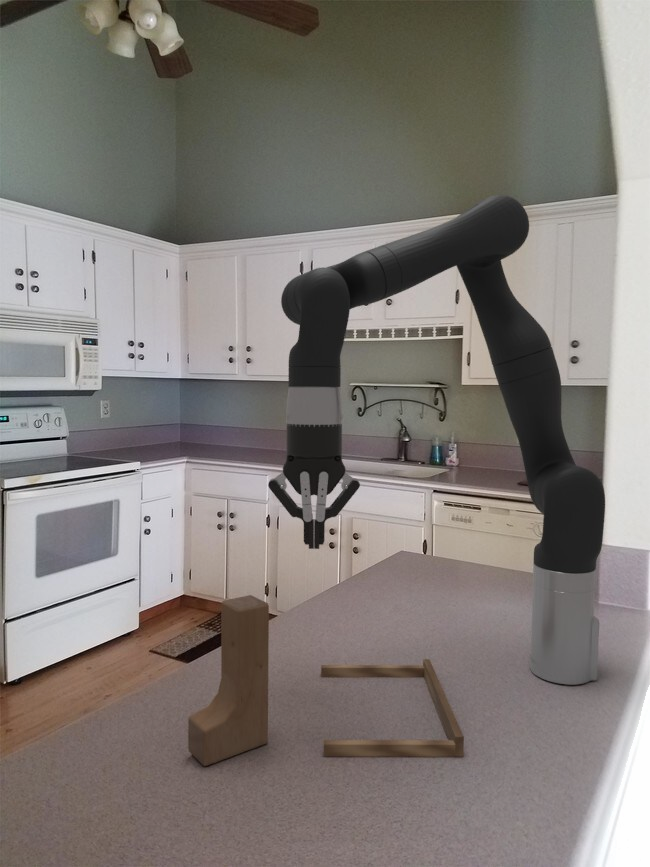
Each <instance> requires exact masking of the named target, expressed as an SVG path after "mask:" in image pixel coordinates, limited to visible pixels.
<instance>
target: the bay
mask: <svg viewBox="0 0 650 867" xmlns="http://www.w3.org/2000/svg"><path fill="white" fill-rule="evenodd" d="M320 669H321V670H320V677H321V678H424V681H425V684H426V687H427V688H428V691H429V694H430V696H431V699H432V702H433V704H434V707H435V710H436V712H437V714H438V717H439V719H440V723H441V725H442V727H443V729H444V730H443V731H444V732H445V734H446V737H447V739H444V740H443V739H437V740H435V739H431V740H430V739H425V740H424V739H423V740H421V739H416V740H415V739H412V740H411V739H405V740H404V739H396V740H395V739H387V740H386V739H323V757H361V758H362V757H370V758H371V757H373V758H374V757H376V758H377V757H385V758H386V757H397V758H398V757H399V758H400V757H403V758H404V757H406V758H407V757H410V758H411V757H412V758H414V757H420V758H421V757H423V758H424V757H426V758H427V757H428V758H429V757H435V758H436V757H438V758H439V757H443V758H444V757H446V758H447V757H449V758H450V757H452V758H454V757H455V758H456V757H457V758H459V757H461V758H462V757H464V745H465V744H464V743H465V742H464V741H465V736H464V734H463V732H462V729H461V726H460V725H459V723H458V720H457V718H456V716H455V713H454V712H453V708H452V707H451V705H450V702H449V700H448V697H447V696H446V693H445V691H444V688H443V687H442V685H441V682H440V680H439V677H438V675H437V673H436V671H435V669H434V666H433V663H432V661H431V660H430V658H422V665H420V664H419V665H417V664H413V665H412V664H410V665H405V664H402V665H401V664H400V665H399V664H395V665H392V664H387V665H386V664H380V665H379V664H377V665H375V664H321V665H320Z"/></svg>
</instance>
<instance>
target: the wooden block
mask: <svg viewBox="0 0 650 867" xmlns="http://www.w3.org/2000/svg"><path fill="white" fill-rule="evenodd" d="M269 609H270V605H269V603H267V602H266V601H264V600H261V599H260V598H258V597H256V596H253V595H251V594H248V595H243V596H240V597H235V598H230V599H225V600H222V601H221V613H220V614H221V617H220V618H221V620H220V621H221V625H220V626H221V628H220V629H221V632H220V633H221V636H220V637H221V640H220V641H221V643H220V646H221V647H220V648H221V651H220V652H221V654H220V655H221V657H220V658H221V661H220V662H221V664H220V665H221V668H220V669H221V670H220V672H221V673H220V675H221V678H220V682H219V685H218V691H217V694H215V696H214V697H213V699H212V701H211V702H210V703H209V704H208V705H207V706H206V707H204V708H202V709H201V710H198V711H197V712H195V713H192V714H191V715H189V716H188V719H187V720H188V721H187V724H188V725H187V726H188V727H187V730H188V736H187V738H188V740H187V741H188V742H187V743H188V746H187V747H188V748H187V749H188V751H189V753H190V754H191V756H194V758H195V759H196V760H197V761H199V763H200V764H201V765H202V766H204V767H207V766H209V765H213V764H215V763H218V762H221V761H223V760H226V759H229V758H232V757H234V756H236V755H237V756H238V755H239V754H240V755H241V754H242V753H246V751H247V752H248V751H250V750H253V749H255V748H258V747H261V746H264V745H266V744H267V743H268V741H269V640H270V639H269V638H270V637H269V636H270V635H269V634H270V633H269V629H270V628H269V627H270V626H269V623H270V622H269V621H270V620H269V619H270V617H269V616H270V615H269V614H270V610H269Z"/></svg>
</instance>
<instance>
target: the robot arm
mask: <svg viewBox="0 0 650 867" xmlns="http://www.w3.org/2000/svg"><path fill="white" fill-rule="evenodd" d="M529 232H530V220H529V216H528V213H527V211H526V209H525V208H524V206H523V204H522V203H521V202H519V201H518V200H517V199H515V198H514V197H513V196H509V195H506V194H493V195H491V196H488V197H485V198H483V199H481V200H479V201H478V202H476V203H475V204H473V205H472V206H470V207H469V208H468V209H466V210H464V211H463V212H462V213H461V214H459V215H457V216H456V217H454V218H452V219H450V220H448V221H445V222H443V223H440V224H438V225H436V226H434V227H432V228H428V229H426V230H423V231H420V232H417V233H415V234H411V235H409V236H405V237H402V238H400V239H399V238H398V239H397V240H393V241H391V242H390V241H389V242H388V243H387V242H386V243H385V244H382V245H379V246H376V247H374V248H370V249H368V250H365V251H362V252H360V253H357V254H355V255H354V256H351V257H349V258H348V259H346V260H343V261H341V262H339V263H337V264H332V265H330V266H326V267H317V268H314V269H312V270H311V269H310V270H309V271H307V272H304V273H301V274H299V275H297V276H295V277H293V278H292V279H291V280H290V281H288V283H287V284H286V285H285V286H284V289H283V291H282V293H281V298H280V299H281V301H280V303H281V308H282V311H283V313H284V315H285V317H286V318H287V319H288V320H290V322H292V323H294V324H296V325H299V329H298V337H297V341H296V343H295V344H294V345H293V346H292V347H291V349H290V350H289V354H288V388H287V389H288V390H287V392H288V393H287V398H286V413H285V420H286V453H285V454H286V456H285V457H286V459H285V462H284V464H283V466H282V472H281V473H279V474H278V475H277V476H276V477H273V478H271V479H270V480H268V483H267V485H268V486H267V487H268V489H269V490H270V491H271V492H272V493H273V495H274V496H275V497H276V499H277V500H278V501H279V503H281V505H282V506H283V508H284V509H285V510H286V511H287V512H288V514H289V515H290V516H291V517H292V518H298V519H300V520H301V521H302V523H303V542H304V545H305V546H307V545H308V549H309V550H319V549H320V546H321V545H324V543H325V523H326V521H327V520H328V519H331V518H336V517H337V516H338V515H339V514H340V512H341V511H342V510H343V509H344V507H345V506H346V505H347V504H348V502H350V500H351V499H352V497H353V496H354V495H355V494H356V492H357V491H358V490H359V488H360V486H361V483H360V481H359V480H358V479H357V478H354V477H353V476H352V475H350V474H349V473H348V472H346V466H345V464H344V462H343V418H344V417H343V416H344V414H343V401H342V399H343V398H342V393H341V378H342V376H341V375H342V373H341V370H342V368H341V367H342V365H341V354H342V350H343V348H344V347H343V346H344V342H345V338H346V334H347V329H348V328H347V327H348V323H349V317H350V311H351V309H354V308H357V307H362V306H366V305H371V304H373V303H374V304H375V303H377V302H380V301H383V300H385V299H387V298H390V297H392V296H395V295H397V294H400V293H402V292H404V291H407V290H409V289H411V288H413V287H415V286H417V285H420V284H421V283H424V282H425V281H428V280H429V279H432V278H433V277H435V276H437V275H440V274H441V273H443V272H445V271H447V270H449V269H452V268H454V267H456V268H457V270H458V273H459V274H460V277H461V279H462V280H461V281H462V282H463V284H464V286H465V289H466V291H467V293H468V296H469V298H470V300H471V303H472V305H473V308H474V311H475V315H476V317H477V321H478V323H479V326H480V329H481V333H482V335H483V337H484V341H485V344H486V346H487V347H486V348H487V349H488V354H489V357H490V361H491V365H492V368H493V372H494V374H495V378H496V382H497V384H498V386H499V390H500V393H501V395H502V398H503V401H504V405H505V407H506V411H507V414H508V416H509V419H510V422H511V425H512V427H513V430H514V431H515V435H516V437H517V440H518V444H519V448H520V451H521V457H522V462H523V466H524V471H525V478H526V482H527V486H528V487H527V488H528V493H529V496H530V499H531V502H532V503H533V505H534V507H535V508H536V510H538V511H539V512H540V513H541V514H542V515H543V520H542V521H543V522H542V534H541V535H542V536H541V539H540V542H539V543H537V544H536V545H535V546H534V548H533V549H534V550H533V568H532V594H531V596H532V598H531V623H530V624H531V626H530V628H531V629H530V632H531V633H530V654H529V660H530V664H529V669H530V671H531V672H532V673H533V675H535V676H536V677H538V678H540V679H543V680H545V681H547V682H551V683H555V684H561V685H562V684H563V685H569V686H570V685H575V686H576V685H582V684H587V683H589V682H590V681H598V665H599V645H600V644H599V643H600V642H599V640H600V638H599V637H600V620H599V619H598V617H596V616H595V602H596V601H595V599H596V596H595V595H596V573H597V560H598V557H599V555H600V553H601V551H602V547H603V538H604V525H605V514H606V495H605V488H604V486H603V482H602V481H601V479H600V478H599V476H598V475H597V474H596V473H594V472H593V471H591V470H590V469H588V468H585V467H583V466H579V465H577V464H576V461H575V460H574V458H573V455H572V453H571V451H570V447H569V445H568V442H567V439H566V435H565V432H564V429H563V424H562V422H563V421H562V380H561V373H560V369H559V366H558V362H557V360H556V359H557V358H556V356H555V352H554V350H553V347H552V343H551V341H550V338H549V336H548V334H547V332H546V330H545V329H544V328H543V327H542V325H541V324H540V323H539V322H538V321H537V320H536V318H534V317H533V315H532V314H531V313H529V311H528V310H527V309H526V308H525V307H524V306H523V305H522V304H521V303H520V302H519V300H517V298H516V296H515V294H513V291H512V290H511V287H510V286H509V283H508V280H507V278H506V275H505V272H504V268H503V265H502V260H504V259H506V258H507V257H510V256H511V255H513V254H514V253H515V252H517V251H518V250H519V249H521V247H522V246H523V245H524V243H525V242H526V240H527V238H528V235H529ZM286 480H287V481H288V482H289V484H290V485H291V487H292V488H293V489H294V491H295V492H296V493H297V494H299V495H300V496H301V505H302V507H301V506H299V505H298V504H297V503H296V502H295V501H294V499H293V498H292V497H291V496H290V494H289V493H288V492H287V490H286V489H287V487H288V484H287V482H286ZM341 480H342V483H341V485H340V486H341V492H340V493H339V494H338V495H337V497H336V498H335V499H334V501H332V503H331V504H330V506H329V507H326V506H327V496H328V495H330V494H331V493H332V492H333V491H334V490H335V488H336V486H337V485H338V484H339V483H340V481H341ZM312 496H316V504H315V505H316V507H315V519H313V506H312Z"/></svg>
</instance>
